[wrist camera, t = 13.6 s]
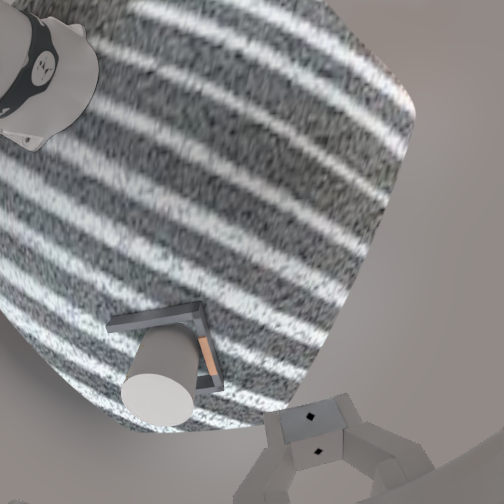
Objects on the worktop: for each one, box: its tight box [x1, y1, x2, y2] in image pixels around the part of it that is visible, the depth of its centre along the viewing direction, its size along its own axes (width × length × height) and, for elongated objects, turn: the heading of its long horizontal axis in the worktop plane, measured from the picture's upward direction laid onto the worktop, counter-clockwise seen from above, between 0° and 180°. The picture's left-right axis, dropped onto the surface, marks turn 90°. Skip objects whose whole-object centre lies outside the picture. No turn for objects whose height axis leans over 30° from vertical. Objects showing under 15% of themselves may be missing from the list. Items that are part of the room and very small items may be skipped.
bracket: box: [105, 301, 224, 395], centre depth 39 cm, size 13×13×4 cm
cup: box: [121, 322, 200, 426], centre depth 35 cm, size 8×8×12 cm
